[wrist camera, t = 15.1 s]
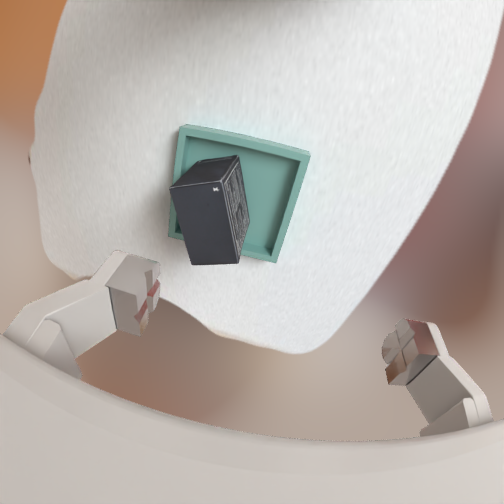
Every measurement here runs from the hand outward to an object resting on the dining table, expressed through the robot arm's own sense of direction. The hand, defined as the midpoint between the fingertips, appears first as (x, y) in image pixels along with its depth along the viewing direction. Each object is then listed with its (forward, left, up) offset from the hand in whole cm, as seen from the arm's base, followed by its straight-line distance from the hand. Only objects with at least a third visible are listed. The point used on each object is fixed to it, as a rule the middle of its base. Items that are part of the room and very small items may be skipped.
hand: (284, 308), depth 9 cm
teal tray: (+10, -5, -31) cm, 33 cm away
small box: (+10, -6, -31) cm, 33 cm away
